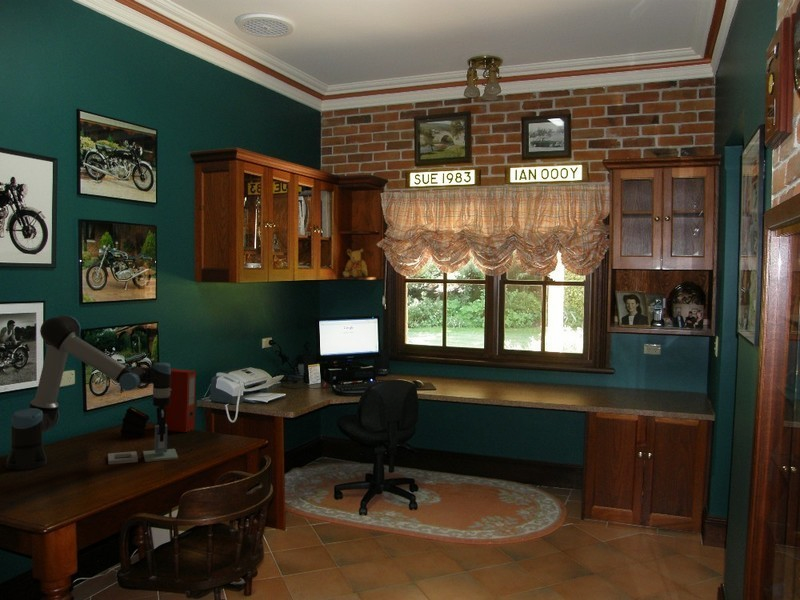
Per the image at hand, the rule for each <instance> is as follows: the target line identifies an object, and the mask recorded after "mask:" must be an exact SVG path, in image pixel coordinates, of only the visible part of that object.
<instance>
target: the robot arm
mask: <svg viewBox="0 0 800 600" xmlns="http://www.w3.org/2000/svg"><path fill="white" fill-rule="evenodd" d="M81 329H82V328H81V324H80V322H79V320H77V318H75V317H74V316H71V315H66V314H64V315H58V316H55V317H50V318H47V319H46V320H45V321H44V322H43V323H42V324H41V326H40V329H39V334H40V336H41V338H42V340H43V341H44V344H45V346H46V347H47V349H46V351H45V352H46V353H45V357H44V361H43V364H42V368H41V372H40V373H41V374H40V376H39V382H38V385H37V389H36V393H35V397H34V398H33V399H32V400H30V402H29V406H28V408H23V409H19V410H16V411H15V412H14V413H13V414H12V416H11V421H10V429H11V430H10V433H11V434H10V435H11V436H10V441H11V443H10V445H11V446H10V451H9V454H8V456H7V458H6V460H5V461H6V462H5V464H6V465H5V467H6V469H8V470H12V471H28V470H34V469H38V468H41V467H43V466H45V465H47V463H48V462H47V461H48V459H47V455H46V452H45V450H44V445H43V434H45V433H47V432H49V431H51V430H52V429H53V428H55V426H56V425H57V424H58V422H59V420H60V412H59V407H60V404H59V403H58V402H57V401H58V400H57V399H58V395H59V391H60V387H61V383H62V379H63V375H64V371H65V368H66V367H65V366H66V363H67V360H68V354H70V355H72V356H73V357H75V358H76V359H78V360H80V361H81V362H83V363H84V364H86V365H88V366H90V367H92V368H93V369H94V370H97V372H100V373H101V374H103V375H104V376H107V378H110V379H112V380H113V381H115V382H116V383H118V384H119V386H120V388H121V389H123V390H125V391H132V390H135V389H136V388H137V387H139V386H140V385H142V384H143V385H144V384H145V385H146V384H148V385H150V384H151V385H152V396H153V397H152V406H154V407H156V418H157V419H156V424H159V433H157V435H158V448H165V419H166V408H165V406H168V405H170V397H169V396H170V391H172V389H170V383H171V369H172V368H171V364H170V363H168V362H155V363H153V366H151V367H149V366H147V367H145V366H142V367H141V366H129V367H128V366H127V365H124V364H123V363H121V362H119V361H118V360H116V359H115V358H113V357H111V356H109V355H108V354H106V353H105V352H104V351H101V350H100V349H99V348H96V347H95V346H93V345H92V344H90V343H88V342H87V341H85V340H83V339H82V338H80V337H79V335H80V334H81V331H82V330H81Z"/></svg>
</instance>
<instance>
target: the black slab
mask: <svg viewBox="0 0 800 600" xmlns="http://www.w3.org/2000/svg"><path fill="white" fill-rule="evenodd" d="M121 420H122V425H121V429H120V431H119V432H120V433H121V435H120V436H121V437H122V438H144V437H145V434H146V431H145V428H146V427H147V422H148V421H149V420H150V416H149V415H148V414H146V413H144V412H142V411H140V410H138V409H136V408H135V407H133V406H130V407H128V408H127V409H126V410H125V415H124V418H122V419H121Z"/></svg>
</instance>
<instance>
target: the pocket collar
mask: <svg viewBox="0 0 800 600" xmlns="http://www.w3.org/2000/svg"><path fill="white" fill-rule="evenodd" d="M107 461H108V462H107V464H108V465H119V464H127V463H129V464H130V463H138V462H139V457H138V453H137V451H124V452H121V451H120V452H112V453H107Z"/></svg>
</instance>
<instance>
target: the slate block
mask: <svg viewBox="0 0 800 600" xmlns="http://www.w3.org/2000/svg"><path fill="white" fill-rule="evenodd" d="M157 433H159V424H157V423H156V424H154V450H155V453H162V452H167V449H168V430H167V424H165V448H158V435H157Z"/></svg>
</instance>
